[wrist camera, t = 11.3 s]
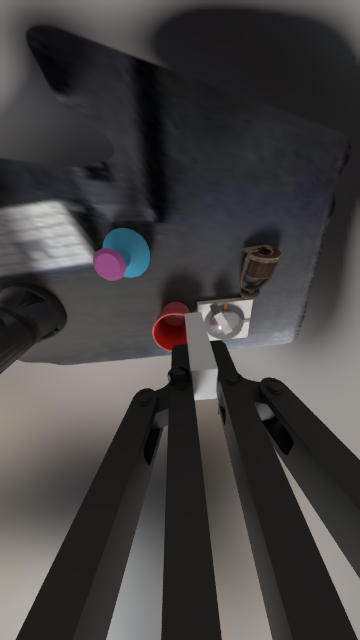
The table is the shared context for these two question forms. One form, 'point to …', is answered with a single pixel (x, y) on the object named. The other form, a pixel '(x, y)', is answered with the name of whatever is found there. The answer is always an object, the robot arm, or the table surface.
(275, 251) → the brown piece
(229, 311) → the dial
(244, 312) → the dial housing
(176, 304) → the flower pot
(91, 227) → the table surface
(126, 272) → the perfume bottle
